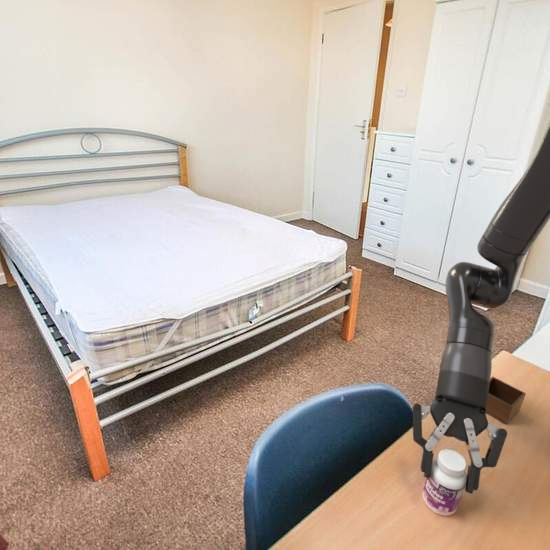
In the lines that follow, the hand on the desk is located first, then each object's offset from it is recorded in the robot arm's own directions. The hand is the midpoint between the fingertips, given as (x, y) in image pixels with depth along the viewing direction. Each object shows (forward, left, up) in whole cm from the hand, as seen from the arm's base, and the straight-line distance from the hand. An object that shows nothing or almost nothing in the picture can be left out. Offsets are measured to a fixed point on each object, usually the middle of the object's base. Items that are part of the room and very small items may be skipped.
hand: (447, 484), depth 58 cm
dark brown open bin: (-18, -26, -6) cm, 32 cm away
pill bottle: (0, -2, -6) cm, 7 cm away
